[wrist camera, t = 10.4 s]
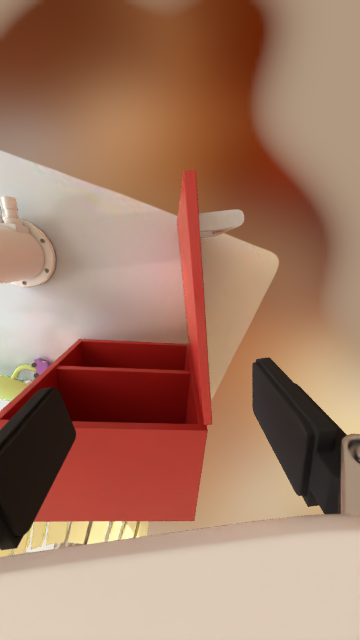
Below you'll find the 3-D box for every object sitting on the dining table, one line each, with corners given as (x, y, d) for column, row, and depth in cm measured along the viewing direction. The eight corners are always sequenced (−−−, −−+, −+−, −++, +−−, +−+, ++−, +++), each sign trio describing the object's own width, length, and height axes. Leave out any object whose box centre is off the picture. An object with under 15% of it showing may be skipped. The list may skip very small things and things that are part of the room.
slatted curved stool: (154, 456, 58) (147, 540, 41) (142, 491, 63) (131, 578, 46) (50, 438, 54) (-6, 521, 37) (45, 476, 59) (-6, 565, 42)
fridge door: (212, 216, 38) (271, 161, 15) (217, 338, 46) (260, 419, 24) (177, 220, 38) (183, 171, 15) (188, 341, 46) (204, 425, 24)
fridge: (78, 339, 45) (-17, 426, 22) (190, 344, 46) (207, 430, 24) (85, 401, 51) (15, 522, 28) (184, 404, 52) (194, 521, 29)
